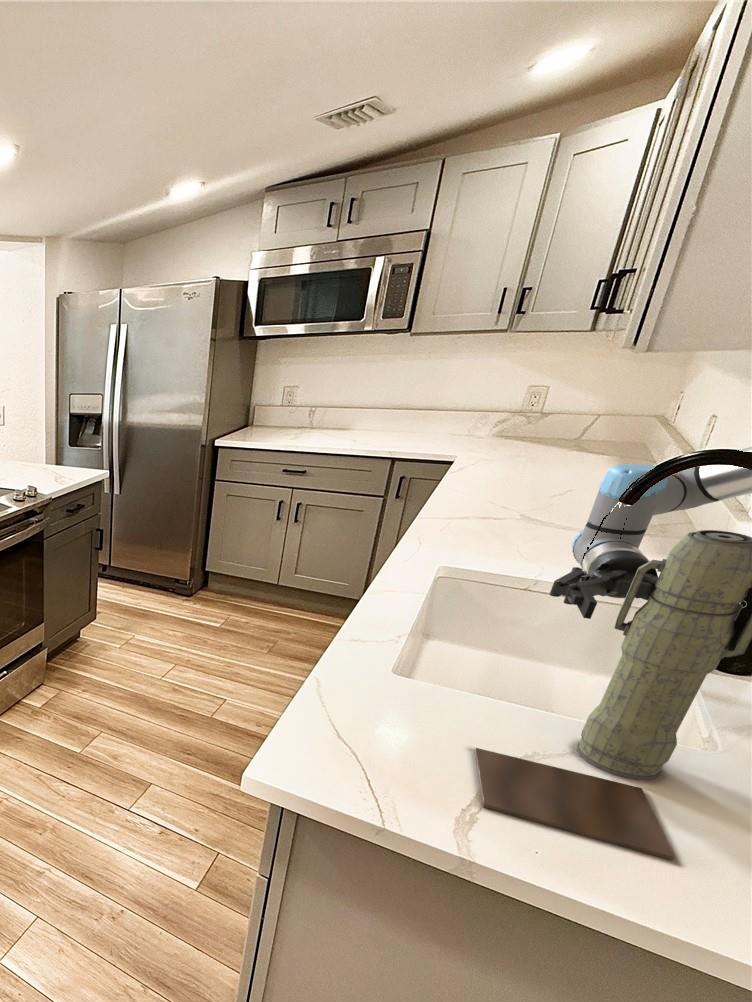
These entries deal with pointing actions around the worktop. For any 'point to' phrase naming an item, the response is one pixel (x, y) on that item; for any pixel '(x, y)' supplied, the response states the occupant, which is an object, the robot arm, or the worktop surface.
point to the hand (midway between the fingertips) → (655, 619)
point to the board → (570, 802)
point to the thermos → (669, 652)
